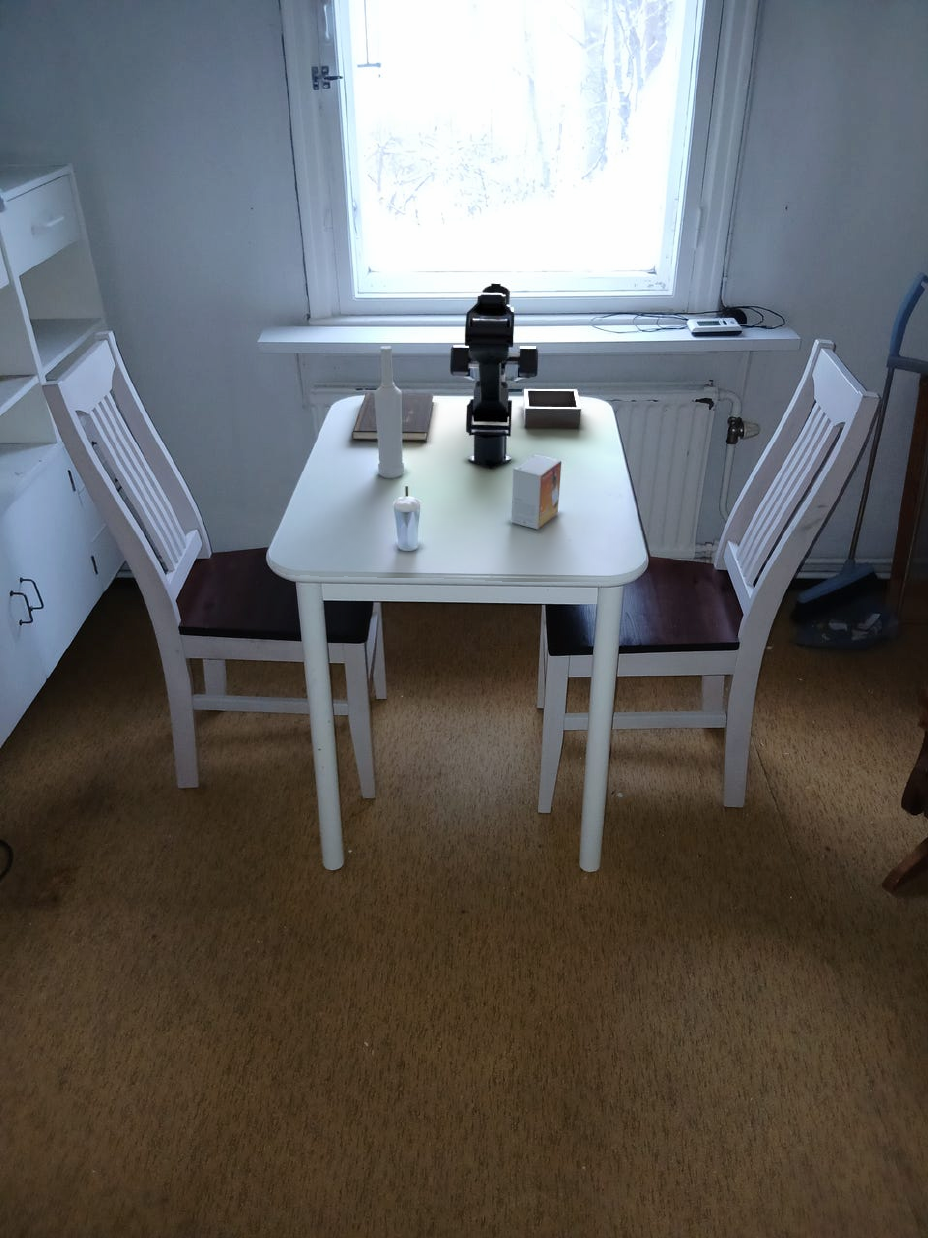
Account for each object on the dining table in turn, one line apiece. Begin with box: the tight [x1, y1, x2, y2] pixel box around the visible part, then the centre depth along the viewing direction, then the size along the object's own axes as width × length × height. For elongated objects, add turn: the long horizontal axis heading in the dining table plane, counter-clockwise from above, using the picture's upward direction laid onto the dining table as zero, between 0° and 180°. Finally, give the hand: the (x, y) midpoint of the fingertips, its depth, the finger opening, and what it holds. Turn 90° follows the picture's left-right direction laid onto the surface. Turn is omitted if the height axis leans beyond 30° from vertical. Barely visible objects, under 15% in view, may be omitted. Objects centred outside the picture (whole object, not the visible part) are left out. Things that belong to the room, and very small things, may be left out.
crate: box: [522, 388, 582, 429], centre depth 206 cm, size 12×12×4 cm
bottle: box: [373, 345, 405, 479], centre depth 175 cm, size 5×5×25 cm
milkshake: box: [392, 485, 421, 552], centre depth 155 cm, size 5×5×10 cm
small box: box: [510, 454, 562, 530], centre depth 163 cm, size 8×6×10 cm
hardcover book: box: [351, 392, 435, 443], centre depth 204 cm, size 16×23×2 cm
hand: (494, 378), depth 205 cm, fingers open, 9 cm apart
